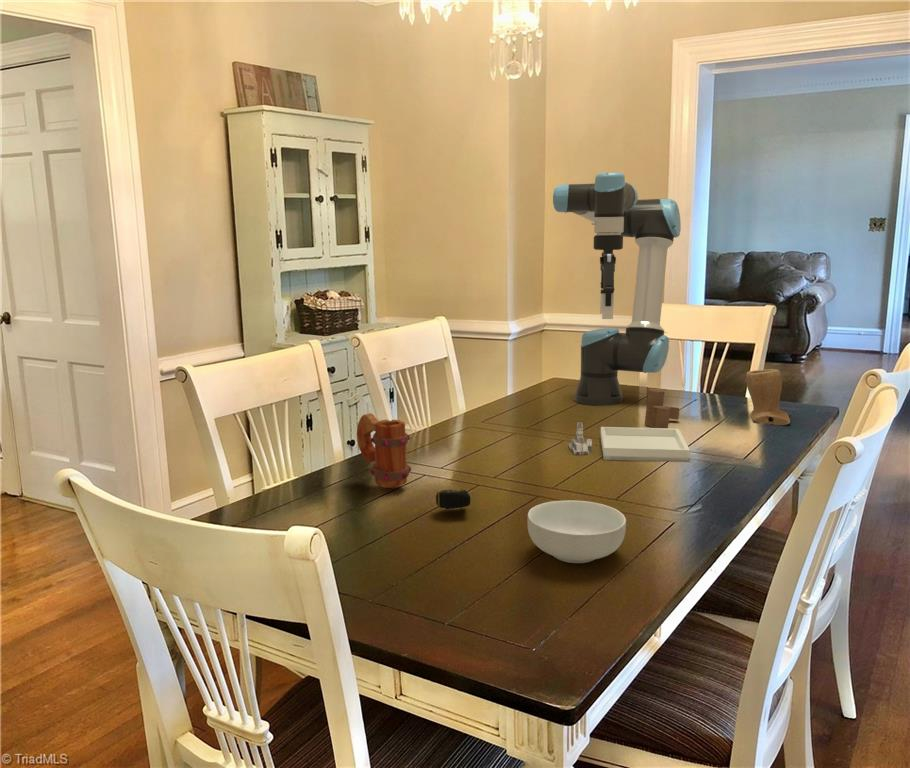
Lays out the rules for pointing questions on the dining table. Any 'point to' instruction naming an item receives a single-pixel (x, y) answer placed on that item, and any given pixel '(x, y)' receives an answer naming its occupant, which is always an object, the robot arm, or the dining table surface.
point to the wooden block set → (659, 410)
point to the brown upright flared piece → (766, 396)
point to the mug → (384, 449)
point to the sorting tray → (643, 444)
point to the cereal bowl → (576, 529)
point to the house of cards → (580, 442)
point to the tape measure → (452, 499)
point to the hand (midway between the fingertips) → (606, 316)
